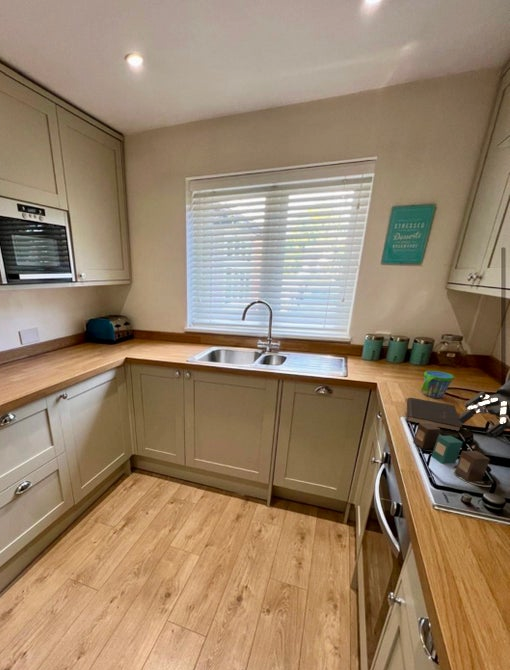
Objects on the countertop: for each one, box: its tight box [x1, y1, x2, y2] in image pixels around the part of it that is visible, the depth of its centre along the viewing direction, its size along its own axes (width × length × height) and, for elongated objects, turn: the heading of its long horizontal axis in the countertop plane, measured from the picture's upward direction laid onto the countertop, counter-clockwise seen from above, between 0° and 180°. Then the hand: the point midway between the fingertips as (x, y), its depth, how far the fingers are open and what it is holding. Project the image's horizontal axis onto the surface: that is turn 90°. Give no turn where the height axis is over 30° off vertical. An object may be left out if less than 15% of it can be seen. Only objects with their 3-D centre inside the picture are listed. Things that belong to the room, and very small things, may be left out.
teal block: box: [431, 435, 463, 465], centre depth 92 cm, size 4×4×8 cm
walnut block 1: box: [412, 423, 442, 450], centre depth 100 cm, size 4×4×8 cm
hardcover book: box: [406, 397, 463, 431], centre depth 125 cm, size 16×23×2 cm
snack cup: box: [421, 370, 455, 399], centre depth 145 cm, size 16×10×10 cm
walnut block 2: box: [454, 450, 491, 483], centre depth 85 cm, size 4×4×8 cm
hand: (473, 427), depth 90 cm, fingers open, 8 cm apart
